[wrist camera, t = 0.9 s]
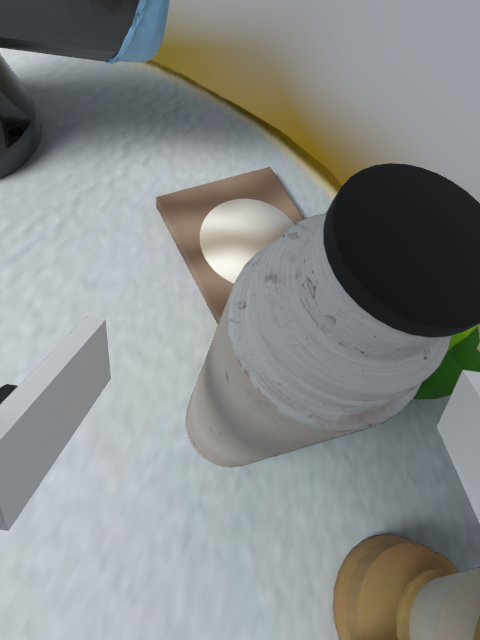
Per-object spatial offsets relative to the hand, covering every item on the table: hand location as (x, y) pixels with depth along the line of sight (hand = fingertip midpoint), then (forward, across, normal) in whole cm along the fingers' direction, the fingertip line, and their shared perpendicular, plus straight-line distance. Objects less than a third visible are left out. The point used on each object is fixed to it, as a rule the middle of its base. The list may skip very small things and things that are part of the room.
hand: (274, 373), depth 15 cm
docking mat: (+28, -3, -5) cm, 29 cm away
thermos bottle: (+14, -2, -16) cm, 21 cm away
